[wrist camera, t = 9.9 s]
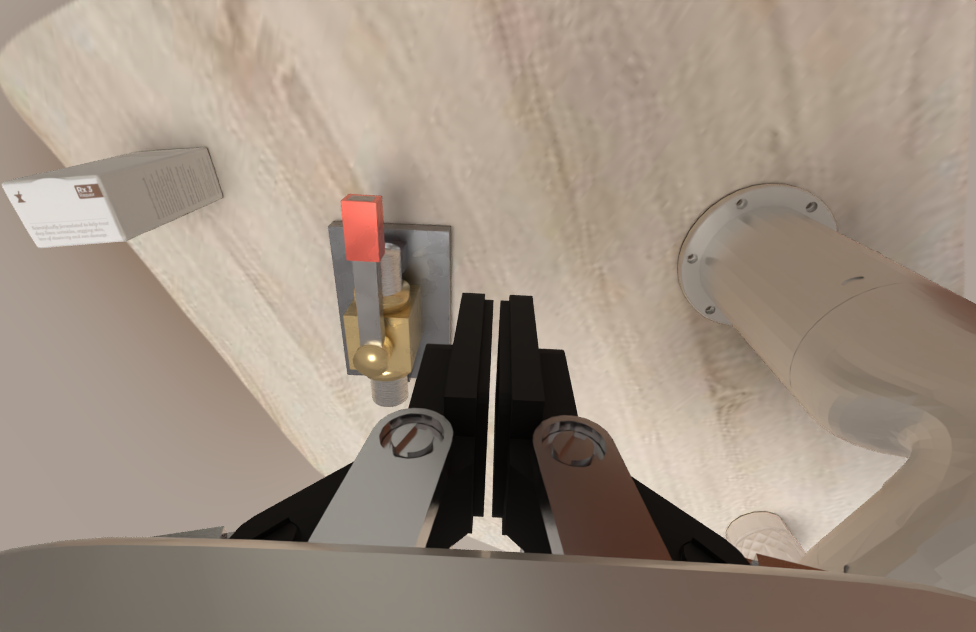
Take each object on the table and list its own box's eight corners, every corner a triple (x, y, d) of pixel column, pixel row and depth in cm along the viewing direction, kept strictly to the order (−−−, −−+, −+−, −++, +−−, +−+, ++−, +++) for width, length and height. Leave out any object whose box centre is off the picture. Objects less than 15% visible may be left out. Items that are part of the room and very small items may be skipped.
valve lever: (394, 362, 38) (388, 377, 36) (361, 360, 38) (354, 375, 36) (385, 195, 31) (377, 204, 29) (346, 193, 31) (336, 201, 29)
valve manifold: (450, 226, 40) (440, 259, 34) (450, 370, 47) (442, 420, 41) (333, 220, 40) (300, 252, 34) (351, 365, 48) (327, 415, 41)
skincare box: (158, 202, 40) (34, 255, 29) (136, 147, 38) (-8, 182, 27) (228, 197, 40) (127, 249, 29) (209, 141, 38) (92, 174, 27)
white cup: (800, 532, 57) (853, 618, 49) (740, 558, 60) (780, 643, 51) (770, 498, 55) (820, 582, 46) (708, 526, 57) (745, 611, 49)
